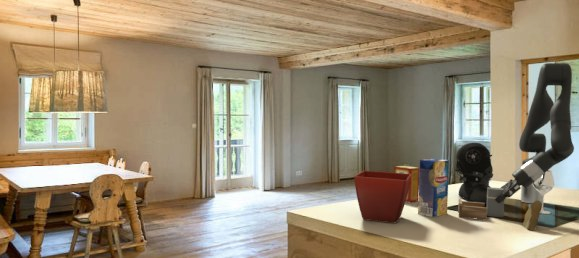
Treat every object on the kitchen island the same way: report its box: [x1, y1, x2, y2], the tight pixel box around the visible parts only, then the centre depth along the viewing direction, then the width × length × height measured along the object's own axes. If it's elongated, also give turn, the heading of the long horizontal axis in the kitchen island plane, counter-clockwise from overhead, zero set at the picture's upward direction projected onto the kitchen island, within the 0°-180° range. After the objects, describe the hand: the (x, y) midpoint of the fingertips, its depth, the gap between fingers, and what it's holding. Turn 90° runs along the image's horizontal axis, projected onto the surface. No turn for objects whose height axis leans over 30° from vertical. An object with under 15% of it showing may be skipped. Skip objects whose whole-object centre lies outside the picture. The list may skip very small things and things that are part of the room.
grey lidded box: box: [485, 186, 505, 218], centre depth 182 cm, size 5×6×11 cm
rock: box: [522, 201, 542, 231], centre depth 163 cm, size 11×9×10 cm
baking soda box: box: [393, 165, 420, 203], centre depth 211 cm, size 10×6×16 cm
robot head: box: [454, 142, 494, 205], centre depth 217 cm, size 30×17×29 cm, turn 179°
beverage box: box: [417, 158, 450, 218], centre depth 181 cm, size 7×11×22 cm, turn 132°
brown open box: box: [457, 198, 488, 220], centre depth 180 cm, size 12×10×6 cm
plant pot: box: [353, 170, 411, 224], centre depth 171 cm, size 19×19×17 cm
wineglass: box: [532, 169, 555, 215], centre depth 190 cm, size 8×8×18 cm
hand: (495, 199), depth 182 cm, fingers open, 8 cm apart
